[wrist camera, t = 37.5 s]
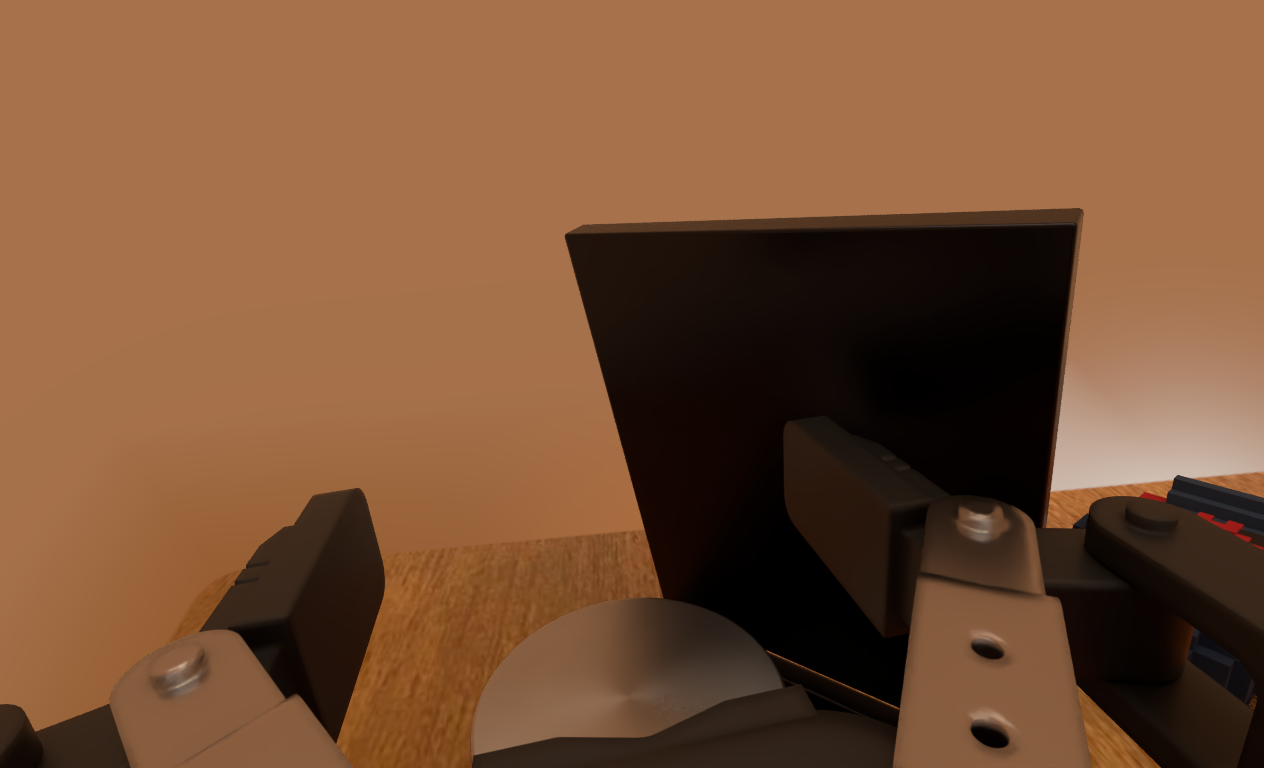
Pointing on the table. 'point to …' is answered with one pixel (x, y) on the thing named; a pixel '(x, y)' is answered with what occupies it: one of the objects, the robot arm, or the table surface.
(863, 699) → the dark brown box
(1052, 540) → the robot arm
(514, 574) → the table surface
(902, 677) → the lid
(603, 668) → the canister
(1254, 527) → the figurine
